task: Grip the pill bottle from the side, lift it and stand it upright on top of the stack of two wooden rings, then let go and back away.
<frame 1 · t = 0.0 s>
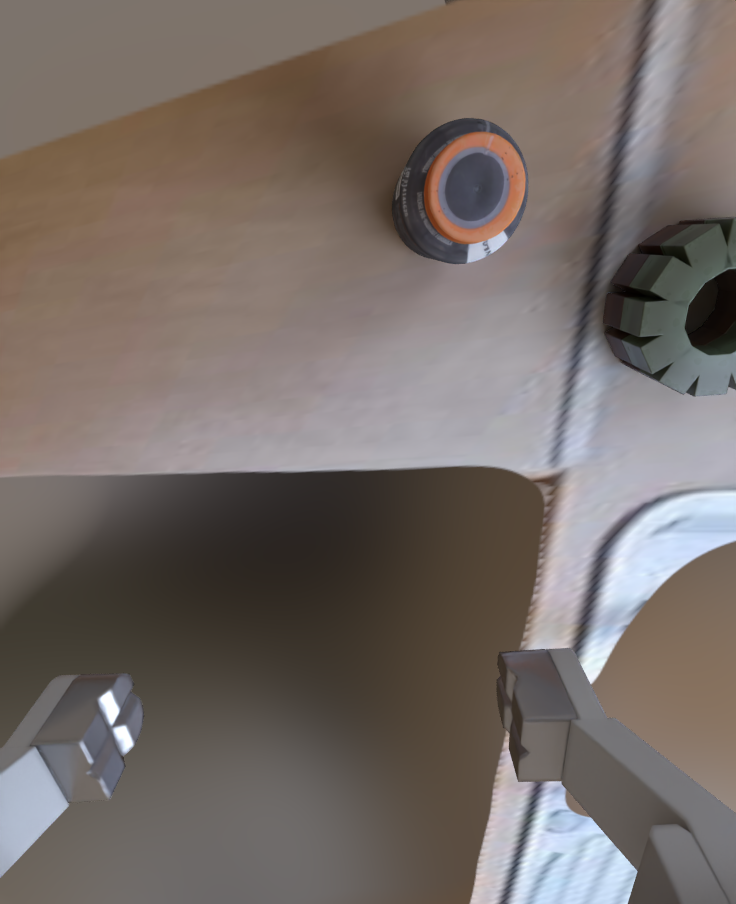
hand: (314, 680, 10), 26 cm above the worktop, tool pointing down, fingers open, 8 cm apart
pill bottle: (438, 206, 29), on the worktop
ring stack: (679, 302, 32), on the worktop
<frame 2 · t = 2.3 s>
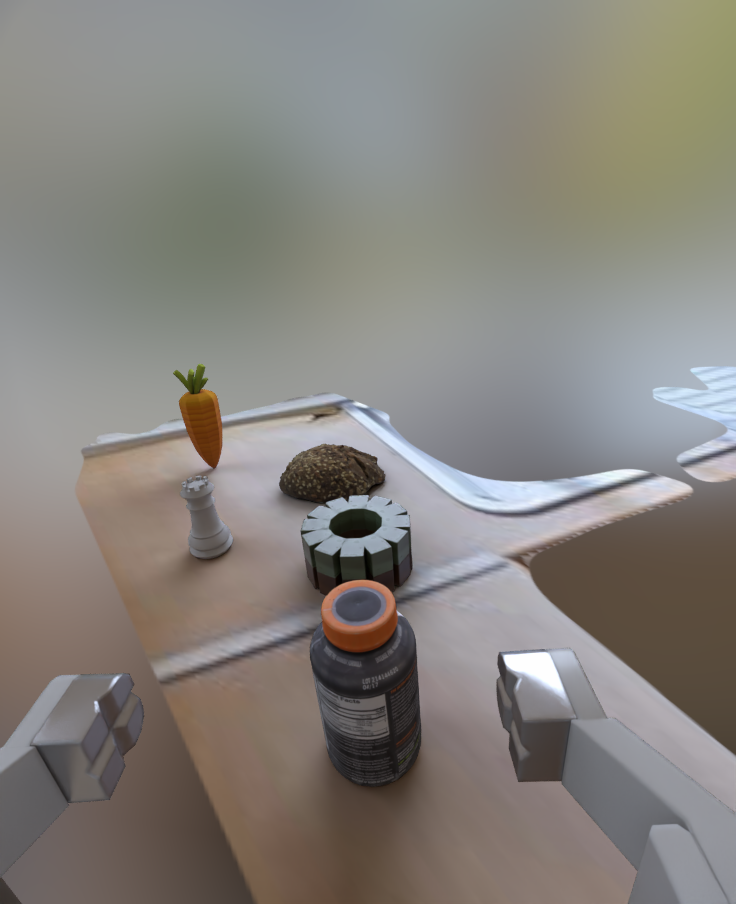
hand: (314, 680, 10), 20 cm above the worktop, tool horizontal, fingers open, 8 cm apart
rook chess piece: (212, 549, 50), on the worktop
pill bottle: (374, 742, 30), on the worktop
bread roll: (336, 482, 61), on the worktop
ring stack: (359, 564, 45), on the worktop
carrot: (214, 468, 68), on the worktop
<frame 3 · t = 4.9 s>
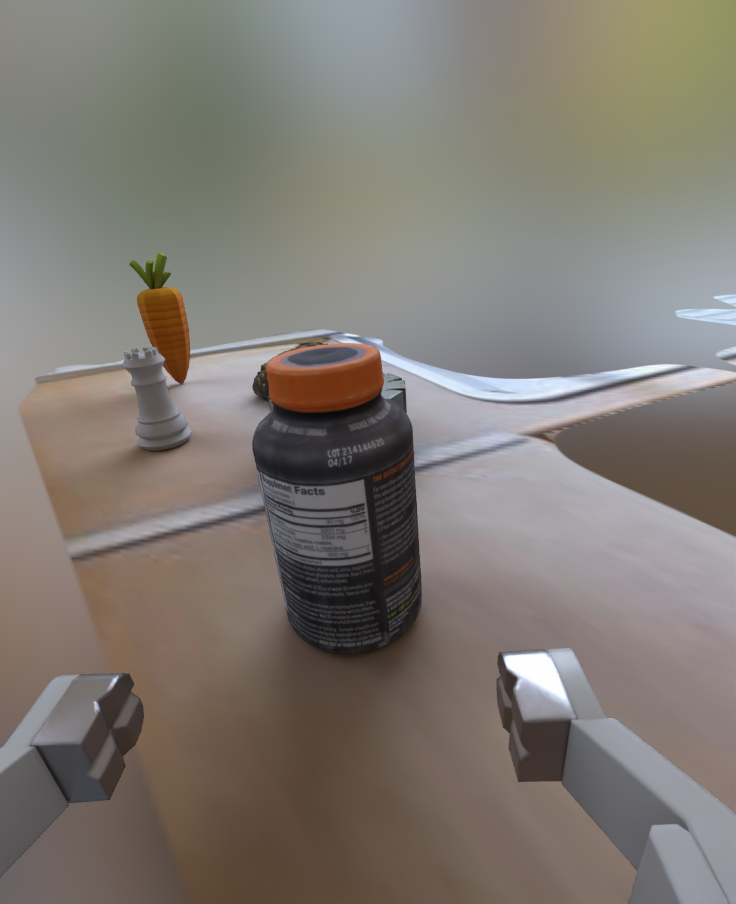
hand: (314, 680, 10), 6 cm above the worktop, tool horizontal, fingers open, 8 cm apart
rook chess piece: (167, 443, 41), on the worktop
pill bottle: (355, 608, 21), on the worktop
bread roll: (319, 388, 53), on the worktop
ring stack: (343, 447, 37), on the worktop
carrot: (181, 384, 59), on the worktop
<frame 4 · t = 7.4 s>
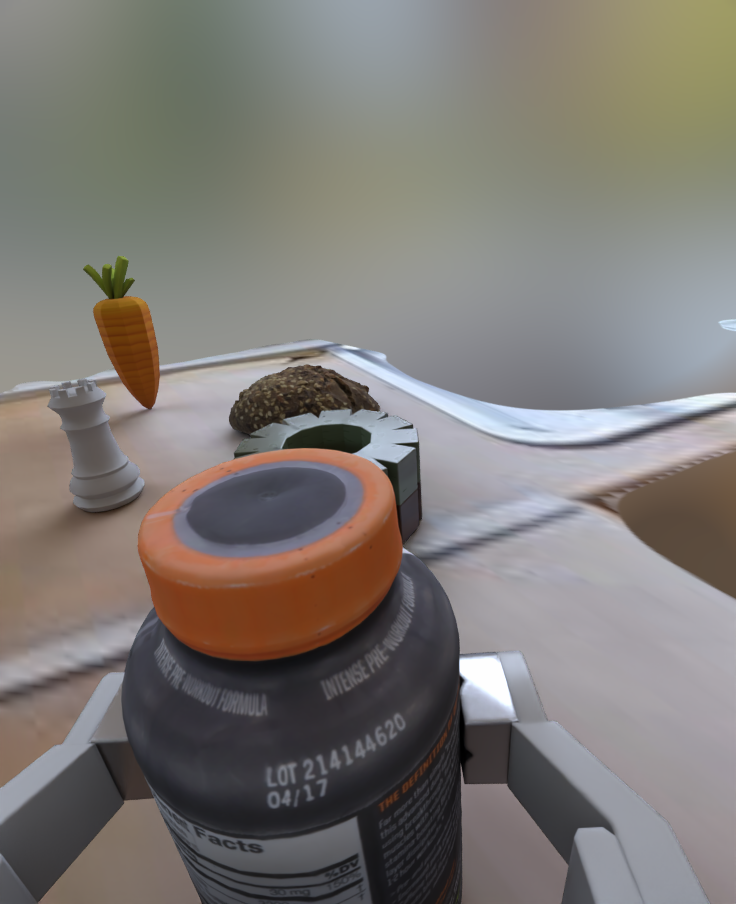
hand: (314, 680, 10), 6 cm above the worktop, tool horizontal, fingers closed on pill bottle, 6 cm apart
rook chess piece: (112, 499, 32), on the worktop
pill bottle: (344, 878, 12), on the worktop, touching gripper
bread roll: (311, 418, 44), on the worktop
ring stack: (336, 514, 28), on the worktop
carrot: (150, 410, 50), on the worktop
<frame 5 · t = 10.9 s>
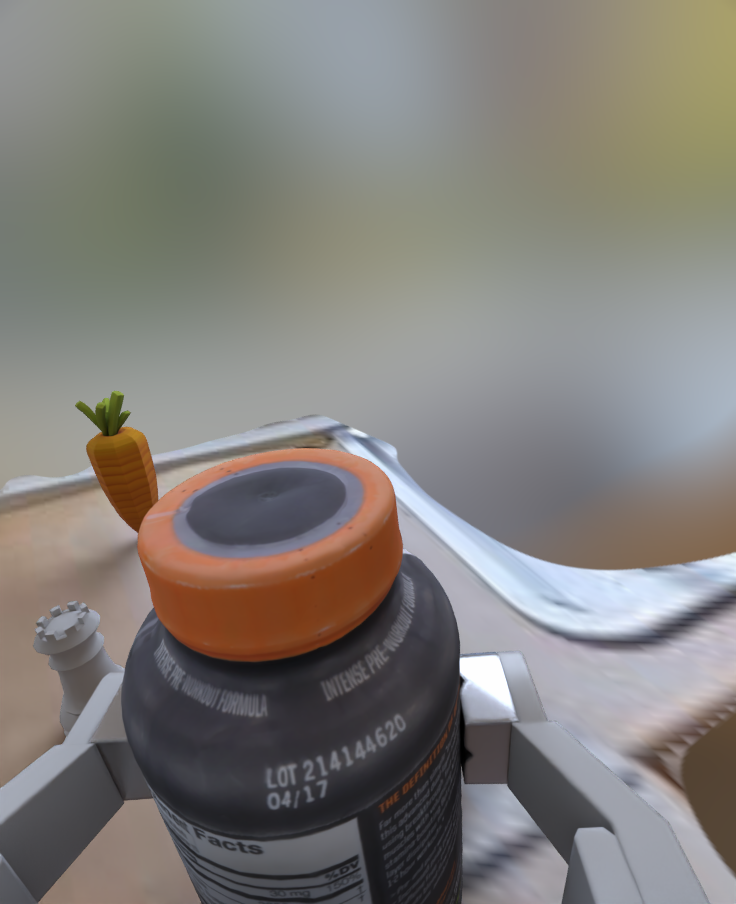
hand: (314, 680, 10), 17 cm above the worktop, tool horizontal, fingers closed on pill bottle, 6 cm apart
rook chess piece: (108, 717, 29), on the worktop
pill bottle: (344, 879, 12), point 10 cm above the worktop, touching gripper
carrot: (148, 538, 47), on the worktop
when the fingers open (11 cm above the worktop, at t = 14.3 s): pill bottle stays where it is, resting on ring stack.
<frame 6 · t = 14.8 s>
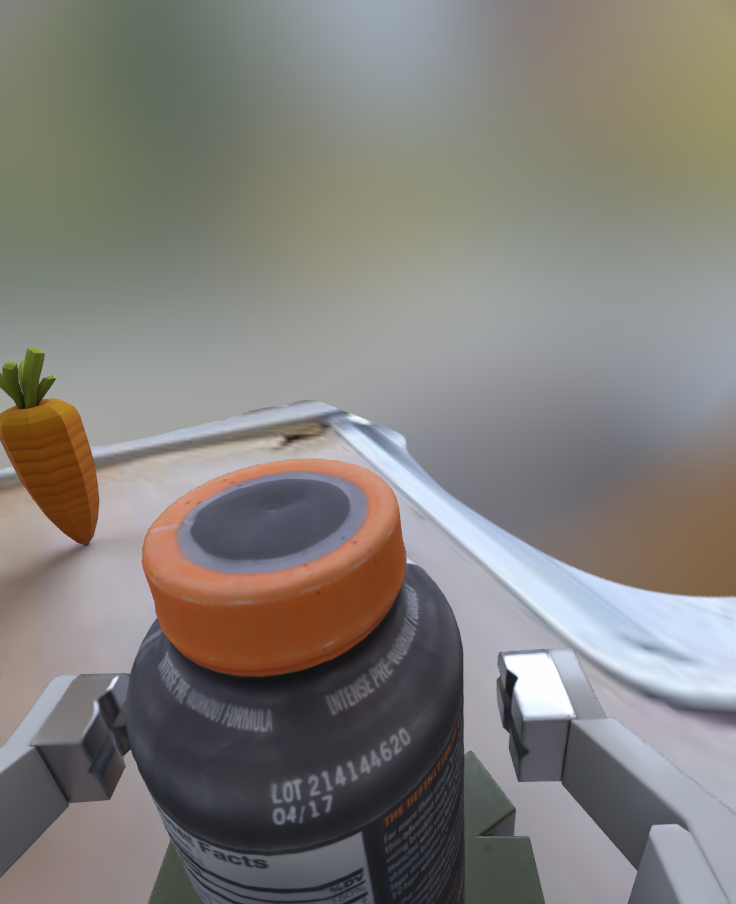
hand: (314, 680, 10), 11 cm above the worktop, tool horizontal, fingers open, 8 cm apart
pill bottle: (347, 886, 12), point 5 cm above the worktop, touching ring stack
carrot: (87, 545, 36), on the worktop
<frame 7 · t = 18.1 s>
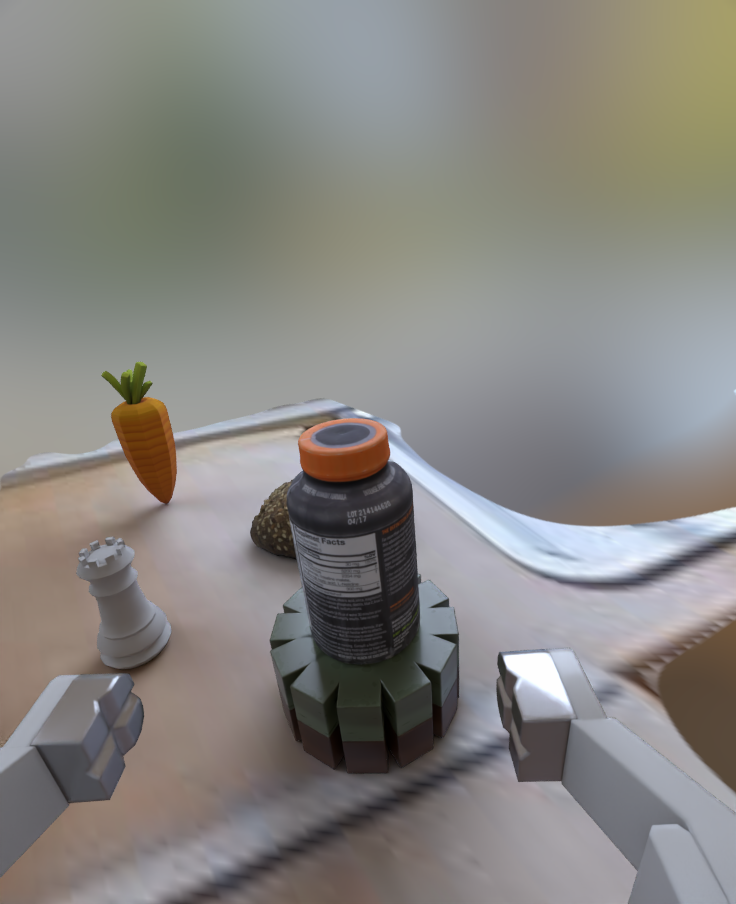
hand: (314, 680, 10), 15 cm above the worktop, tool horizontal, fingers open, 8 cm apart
rook chess piece: (139, 647, 32), on the worktop
pill bottle: (365, 626, 26), point 5 cm above the worktop, touching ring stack
bread roll: (332, 526, 44), on the worktop
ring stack: (370, 684, 28), on the worktop
carrot: (167, 504, 50), on the worktop
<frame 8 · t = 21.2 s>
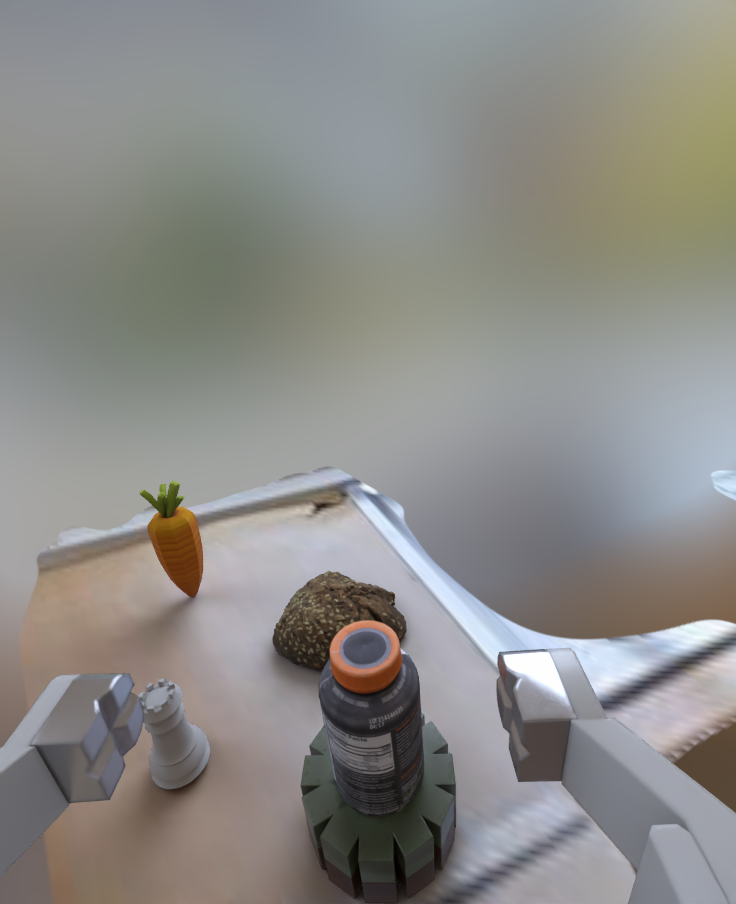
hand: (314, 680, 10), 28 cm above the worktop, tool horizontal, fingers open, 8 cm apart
rook chess piece: (183, 764, 37), on the worktop
pill bottle: (379, 771, 31), point 5 cm above the worktop, touching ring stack
bread roll: (344, 629, 49), on the worktop
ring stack: (382, 811, 33), on the worktop
carrot: (194, 597, 55), on the worktop
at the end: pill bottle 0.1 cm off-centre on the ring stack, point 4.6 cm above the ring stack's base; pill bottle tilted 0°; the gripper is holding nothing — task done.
